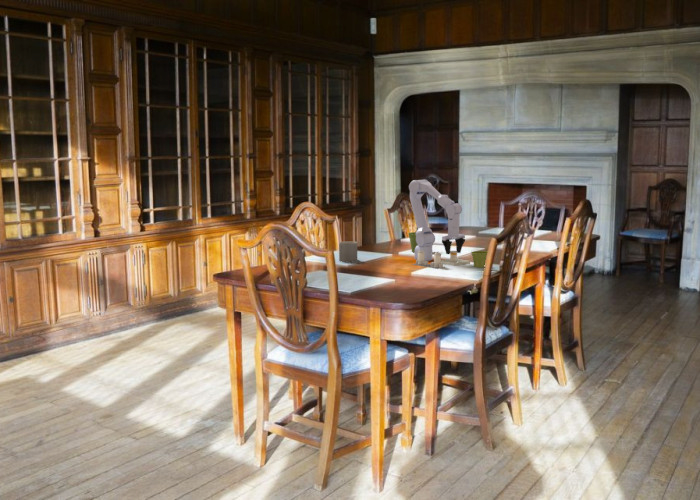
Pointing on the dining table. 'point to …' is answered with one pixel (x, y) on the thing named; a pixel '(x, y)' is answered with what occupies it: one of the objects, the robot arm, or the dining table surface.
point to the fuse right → (437, 260)
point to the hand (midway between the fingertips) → (453, 253)
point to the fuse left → (421, 256)
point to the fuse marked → (453, 256)
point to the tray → (455, 263)
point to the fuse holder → (431, 265)
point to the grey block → (347, 251)
